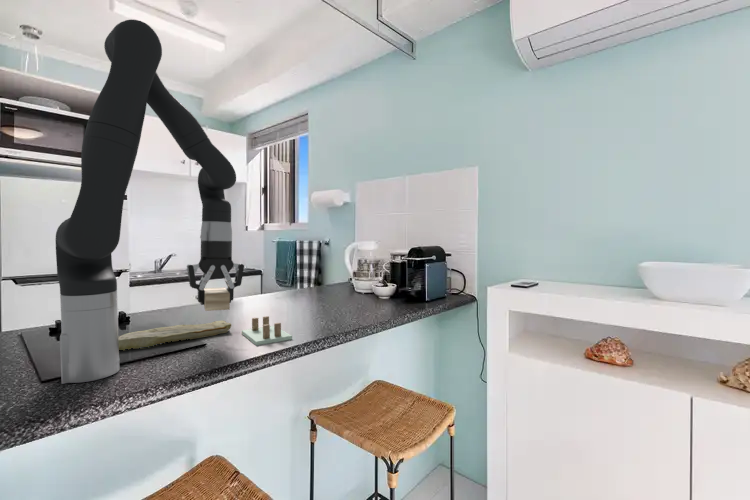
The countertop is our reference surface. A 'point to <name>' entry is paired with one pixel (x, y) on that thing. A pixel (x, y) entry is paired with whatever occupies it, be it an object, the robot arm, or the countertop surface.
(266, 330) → the peg stand
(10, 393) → the countertop surface
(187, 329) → the stone slab
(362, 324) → the countertop surface
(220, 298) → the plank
